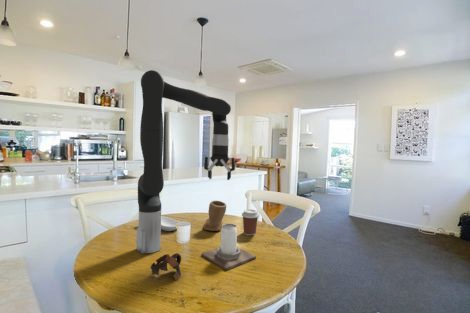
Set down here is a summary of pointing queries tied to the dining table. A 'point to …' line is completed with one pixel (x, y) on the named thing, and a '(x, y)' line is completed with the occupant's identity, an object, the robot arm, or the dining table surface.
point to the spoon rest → (168, 224)
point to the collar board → (227, 262)
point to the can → (228, 239)
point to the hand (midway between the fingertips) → (219, 179)
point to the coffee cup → (250, 221)
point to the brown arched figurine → (163, 265)
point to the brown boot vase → (215, 216)
